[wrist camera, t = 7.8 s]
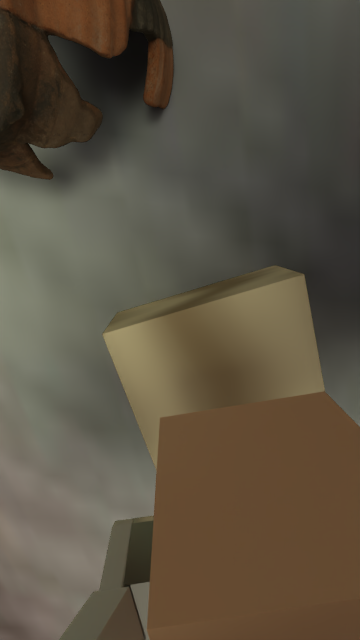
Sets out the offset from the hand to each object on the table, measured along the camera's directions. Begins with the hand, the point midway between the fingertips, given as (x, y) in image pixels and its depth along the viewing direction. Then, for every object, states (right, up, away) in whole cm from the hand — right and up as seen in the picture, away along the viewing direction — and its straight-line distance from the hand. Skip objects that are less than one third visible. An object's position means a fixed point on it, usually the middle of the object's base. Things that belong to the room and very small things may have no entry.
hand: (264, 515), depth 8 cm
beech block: (0, +3, +10) cm, 10 cm away
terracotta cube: (0, 0, +2) cm, 2 cm away
